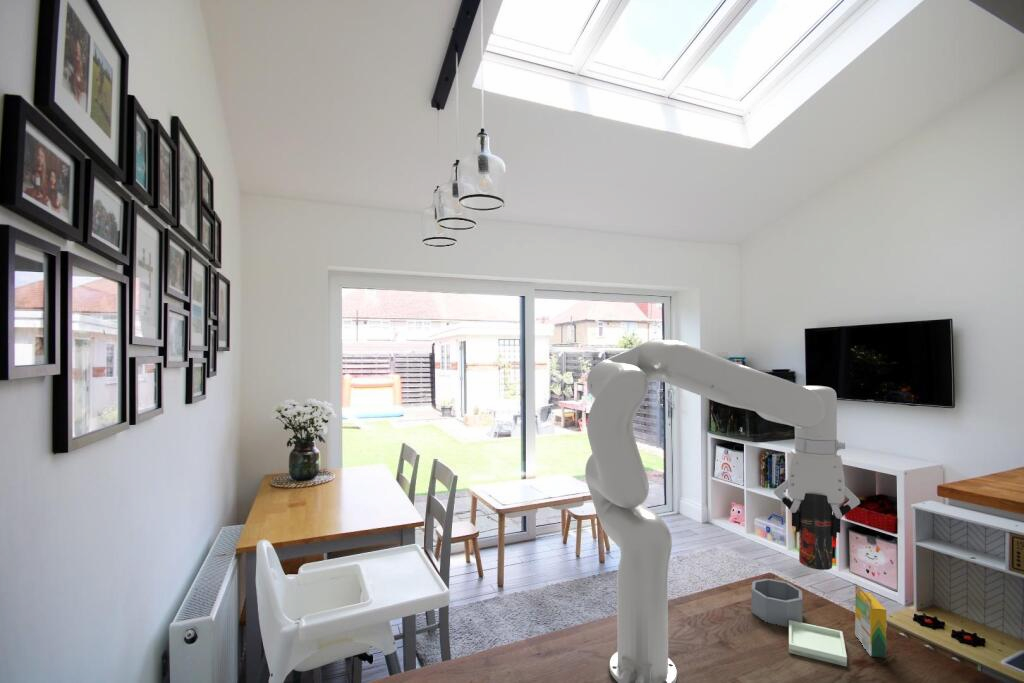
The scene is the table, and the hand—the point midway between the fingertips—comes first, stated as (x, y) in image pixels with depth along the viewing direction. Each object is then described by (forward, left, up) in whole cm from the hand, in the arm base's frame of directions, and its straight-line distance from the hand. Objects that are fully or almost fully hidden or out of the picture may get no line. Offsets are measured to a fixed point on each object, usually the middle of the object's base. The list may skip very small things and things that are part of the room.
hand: (815, 531), depth 109 cm
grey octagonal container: (+11, +7, -24) cm, 27 cm away
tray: (0, 0, -24) cm, 24 cm away
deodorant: (0, 0, -7) cm, 7 cm away
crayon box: (+5, -10, -24) cm, 26 cm away
